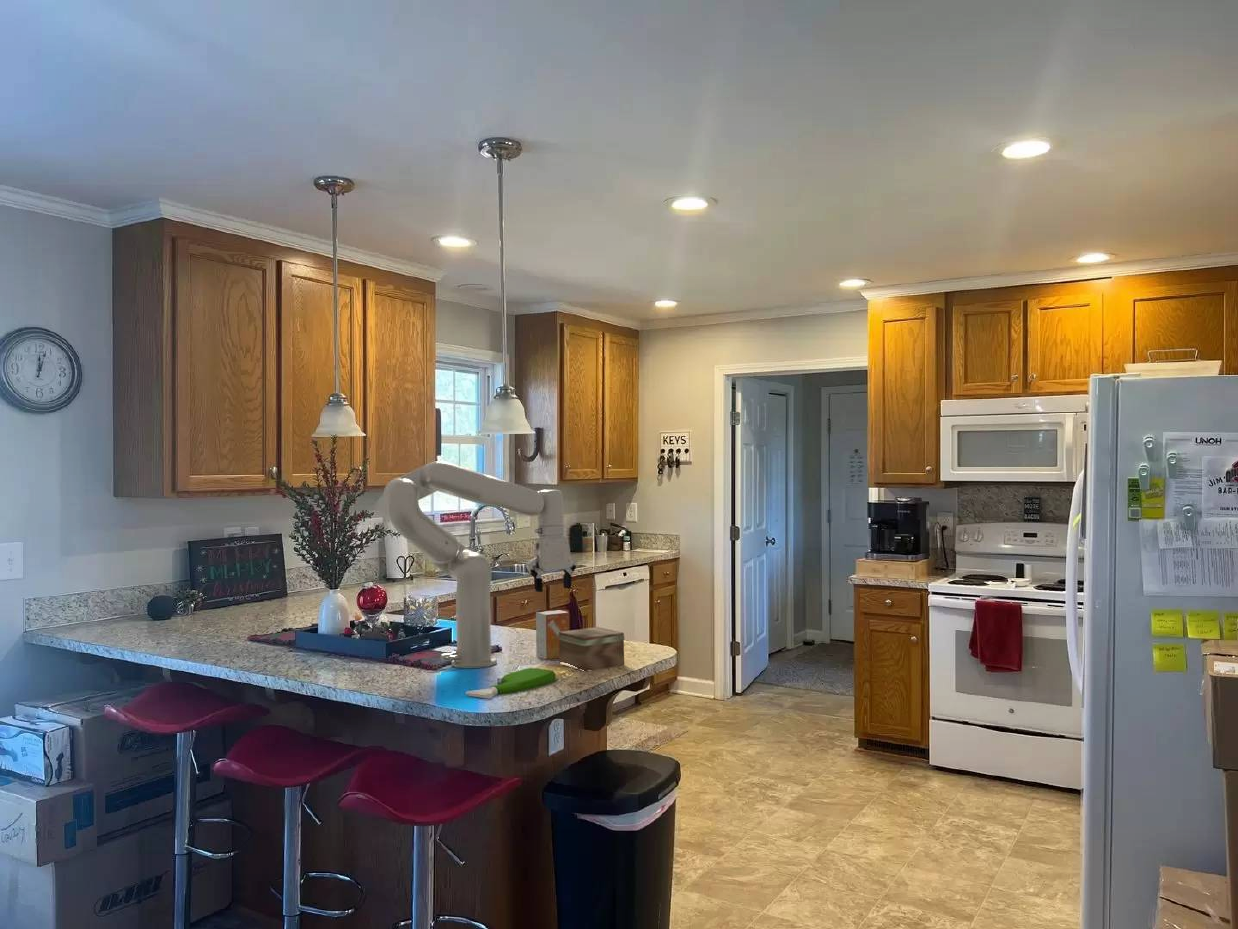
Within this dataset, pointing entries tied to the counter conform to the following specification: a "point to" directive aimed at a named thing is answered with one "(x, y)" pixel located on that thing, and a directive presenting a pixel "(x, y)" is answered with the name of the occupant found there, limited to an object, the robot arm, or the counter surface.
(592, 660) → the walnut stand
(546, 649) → the small box
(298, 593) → the counter surface
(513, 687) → the green and white oblong
